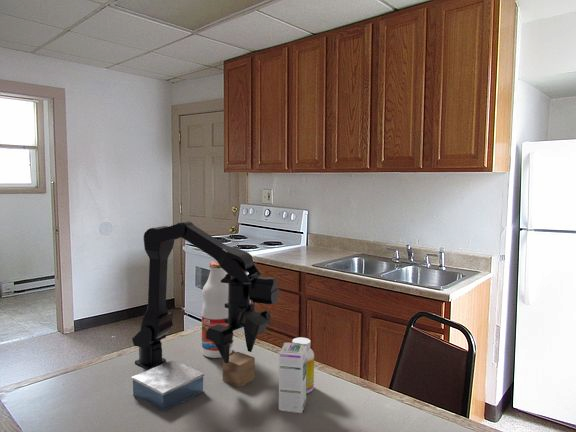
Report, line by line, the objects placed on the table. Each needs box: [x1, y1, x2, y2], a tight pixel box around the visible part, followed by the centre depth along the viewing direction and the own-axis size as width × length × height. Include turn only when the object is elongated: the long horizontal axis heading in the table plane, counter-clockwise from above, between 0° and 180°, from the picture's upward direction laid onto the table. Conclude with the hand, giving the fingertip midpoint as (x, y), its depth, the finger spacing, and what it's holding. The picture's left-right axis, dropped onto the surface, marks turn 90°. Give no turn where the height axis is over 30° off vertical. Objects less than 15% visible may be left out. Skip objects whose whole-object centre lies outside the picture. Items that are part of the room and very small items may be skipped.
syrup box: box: [278, 342, 307, 414], centre depth 101 cm, size 6×6×14 cm
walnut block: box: [222, 351, 256, 388], centre depth 114 cm, size 6×6×6 cm
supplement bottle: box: [291, 336, 315, 395], centre depth 109 cm, size 7×7×13 cm
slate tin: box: [131, 359, 205, 413], centre depth 106 cm, size 12×12×5 cm
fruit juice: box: [201, 261, 234, 359], centre depth 130 cm, size 9×9×28 cm
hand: (238, 357), depth 113 cm, fingers open, 9 cm apart
